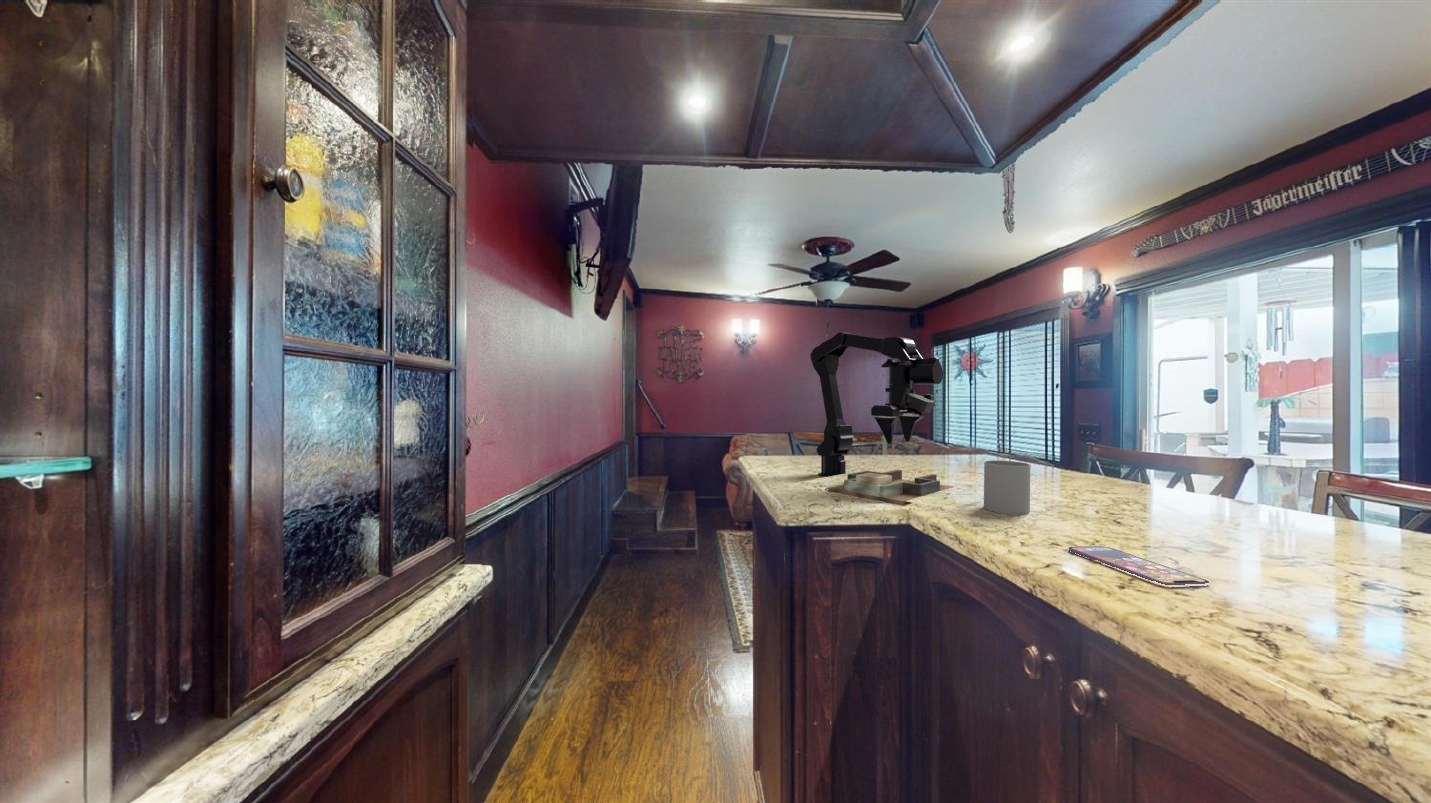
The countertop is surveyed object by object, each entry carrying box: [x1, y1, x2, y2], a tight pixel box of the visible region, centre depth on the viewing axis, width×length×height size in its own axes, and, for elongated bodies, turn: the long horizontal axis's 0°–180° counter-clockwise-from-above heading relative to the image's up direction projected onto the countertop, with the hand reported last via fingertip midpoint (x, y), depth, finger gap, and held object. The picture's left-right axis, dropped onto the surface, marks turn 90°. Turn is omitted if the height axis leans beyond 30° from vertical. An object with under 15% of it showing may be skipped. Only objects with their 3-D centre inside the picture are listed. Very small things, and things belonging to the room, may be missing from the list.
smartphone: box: [1068, 545, 1210, 585], centre depth 69 cm, size 1×7×15 cm
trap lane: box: [827, 469, 954, 507], centre depth 122 cm, size 20×26×4 cm
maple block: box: [856, 472, 892, 485], centre depth 116 cm, size 6×6×4 cm
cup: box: [983, 460, 1032, 516], centre depth 102 cm, size 8×8×10 cm
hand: (898, 442), depth 129 cm, fingers open, 9 cm apart
